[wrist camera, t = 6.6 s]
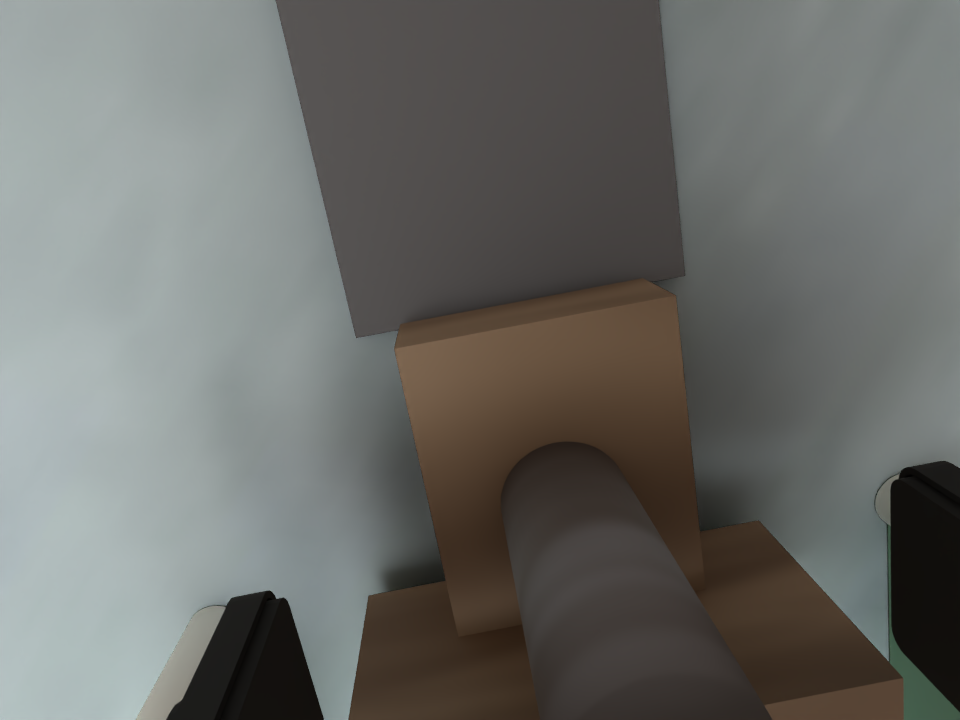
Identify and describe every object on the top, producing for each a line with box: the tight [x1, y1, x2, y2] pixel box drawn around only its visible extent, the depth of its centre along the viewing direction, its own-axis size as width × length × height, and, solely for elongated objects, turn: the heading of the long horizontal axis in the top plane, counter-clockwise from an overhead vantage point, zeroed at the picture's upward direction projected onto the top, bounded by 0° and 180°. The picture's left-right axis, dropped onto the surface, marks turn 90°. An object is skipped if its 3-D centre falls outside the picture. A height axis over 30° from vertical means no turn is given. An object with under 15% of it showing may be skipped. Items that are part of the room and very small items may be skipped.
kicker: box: [349, 278, 904, 720], centre depth 11 cm, size 8×9×8 cm
